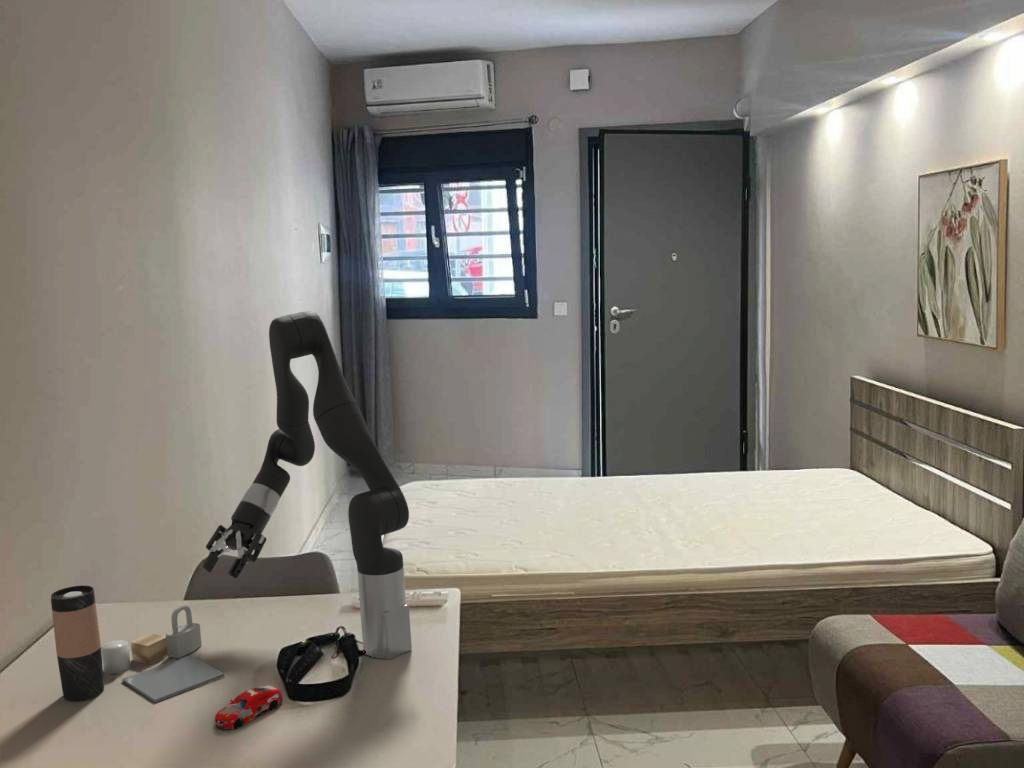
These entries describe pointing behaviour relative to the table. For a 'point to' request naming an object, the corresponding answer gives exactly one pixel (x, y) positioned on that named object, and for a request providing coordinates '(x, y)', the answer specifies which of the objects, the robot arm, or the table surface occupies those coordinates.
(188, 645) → the padlock
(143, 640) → the oak block
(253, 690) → the race car
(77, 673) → the travel mug
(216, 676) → the mat
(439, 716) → the table surface
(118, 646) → the white rounded capsule
